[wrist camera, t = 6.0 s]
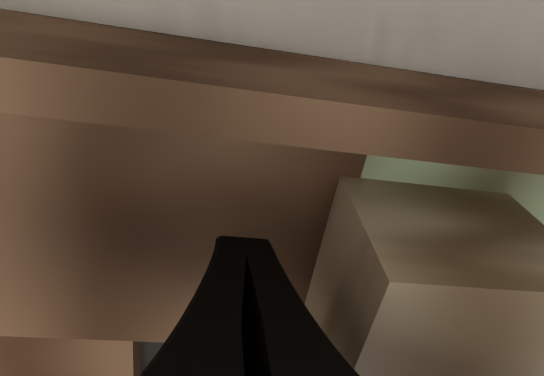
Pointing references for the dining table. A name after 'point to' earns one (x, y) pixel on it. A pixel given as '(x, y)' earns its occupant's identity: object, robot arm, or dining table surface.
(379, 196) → the birch block
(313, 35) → the dining table surface
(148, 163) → the trap box
